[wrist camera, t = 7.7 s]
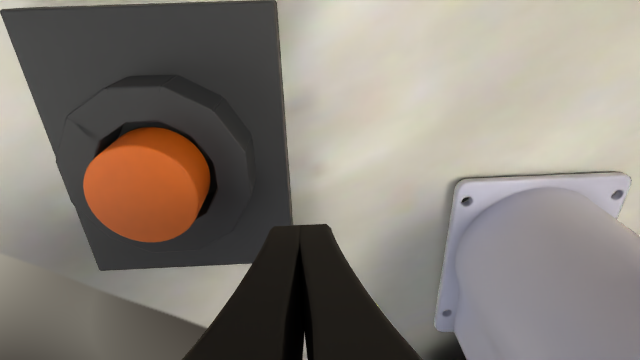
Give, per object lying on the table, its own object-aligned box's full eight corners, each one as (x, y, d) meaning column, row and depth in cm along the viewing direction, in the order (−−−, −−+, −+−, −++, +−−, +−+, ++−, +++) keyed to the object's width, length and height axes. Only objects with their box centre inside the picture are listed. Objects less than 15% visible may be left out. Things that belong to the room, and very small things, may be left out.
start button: (217, 213, 14) (207, 240, 13) (123, 217, 14) (101, 245, 13) (201, 124, 13) (187, 142, 11) (95, 128, 13) (66, 148, 11)
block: (294, 246, 18) (293, 289, 16) (110, 255, 18) (77, 300, 16) (276, -1, 13) (270, 2, 11) (22, 7, 13) (-49, 12, 11)
